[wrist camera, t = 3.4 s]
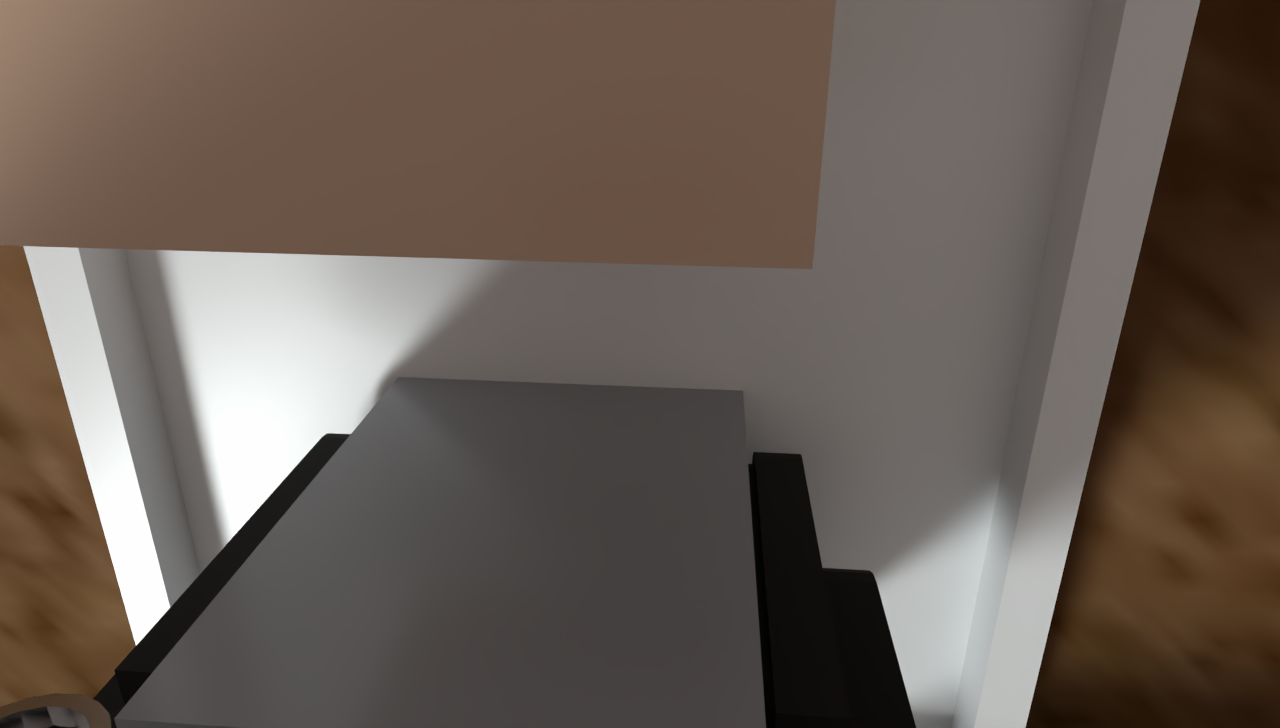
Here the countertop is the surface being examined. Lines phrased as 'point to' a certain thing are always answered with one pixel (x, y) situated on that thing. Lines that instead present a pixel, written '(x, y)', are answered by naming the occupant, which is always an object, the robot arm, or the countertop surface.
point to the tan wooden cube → (418, 128)
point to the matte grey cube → (494, 573)
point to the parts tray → (723, 334)
